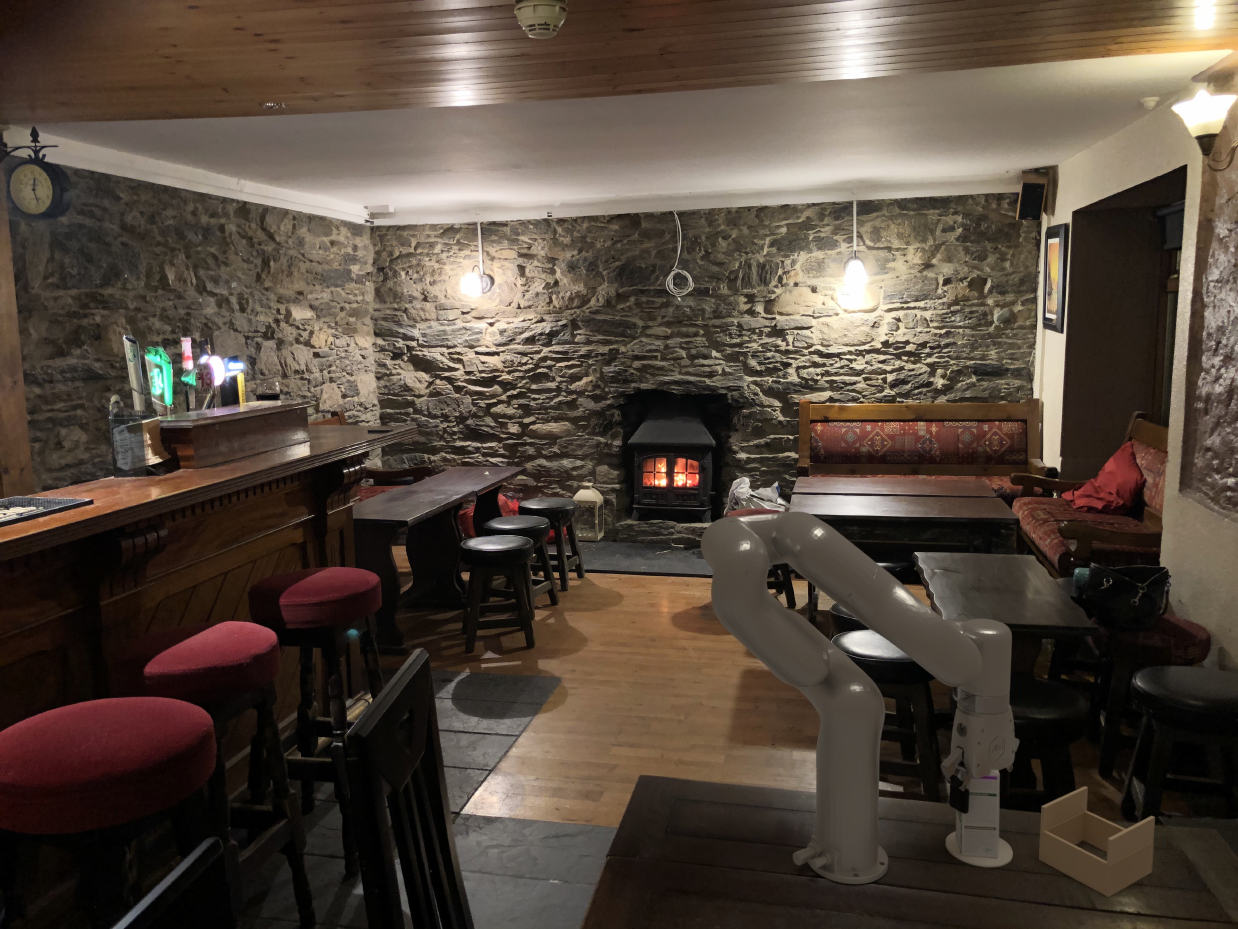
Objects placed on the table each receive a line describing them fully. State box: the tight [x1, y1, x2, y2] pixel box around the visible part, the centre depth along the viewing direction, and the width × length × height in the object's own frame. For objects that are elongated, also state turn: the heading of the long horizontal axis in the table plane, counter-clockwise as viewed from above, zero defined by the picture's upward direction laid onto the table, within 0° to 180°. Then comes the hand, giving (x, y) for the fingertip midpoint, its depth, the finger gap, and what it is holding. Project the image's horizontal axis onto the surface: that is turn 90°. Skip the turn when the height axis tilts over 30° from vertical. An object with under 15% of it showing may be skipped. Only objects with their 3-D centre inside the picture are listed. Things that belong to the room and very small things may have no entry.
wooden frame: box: [1038, 786, 1156, 898], centre depth 136 cm, size 11×11×9 cm
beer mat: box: [945, 830, 1014, 869], centre depth 142 cm, size 10×10×1 cm
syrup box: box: [955, 764, 1000, 858], centre depth 141 cm, size 6×6×14 cm
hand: (979, 801), depth 141 cm, fingers open, 9 cm apart
